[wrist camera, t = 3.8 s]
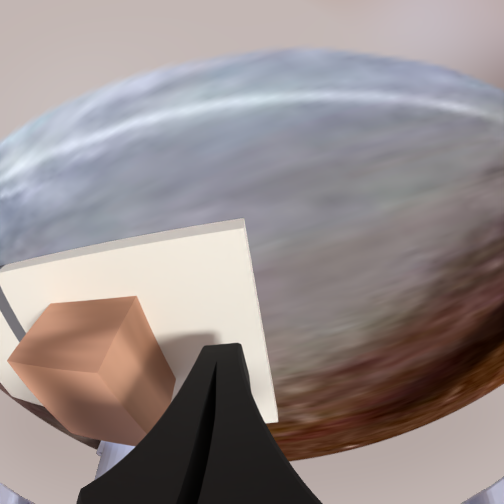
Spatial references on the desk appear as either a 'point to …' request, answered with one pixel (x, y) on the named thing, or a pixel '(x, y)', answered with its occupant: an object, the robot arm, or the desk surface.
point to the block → (97, 368)
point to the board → (151, 297)
